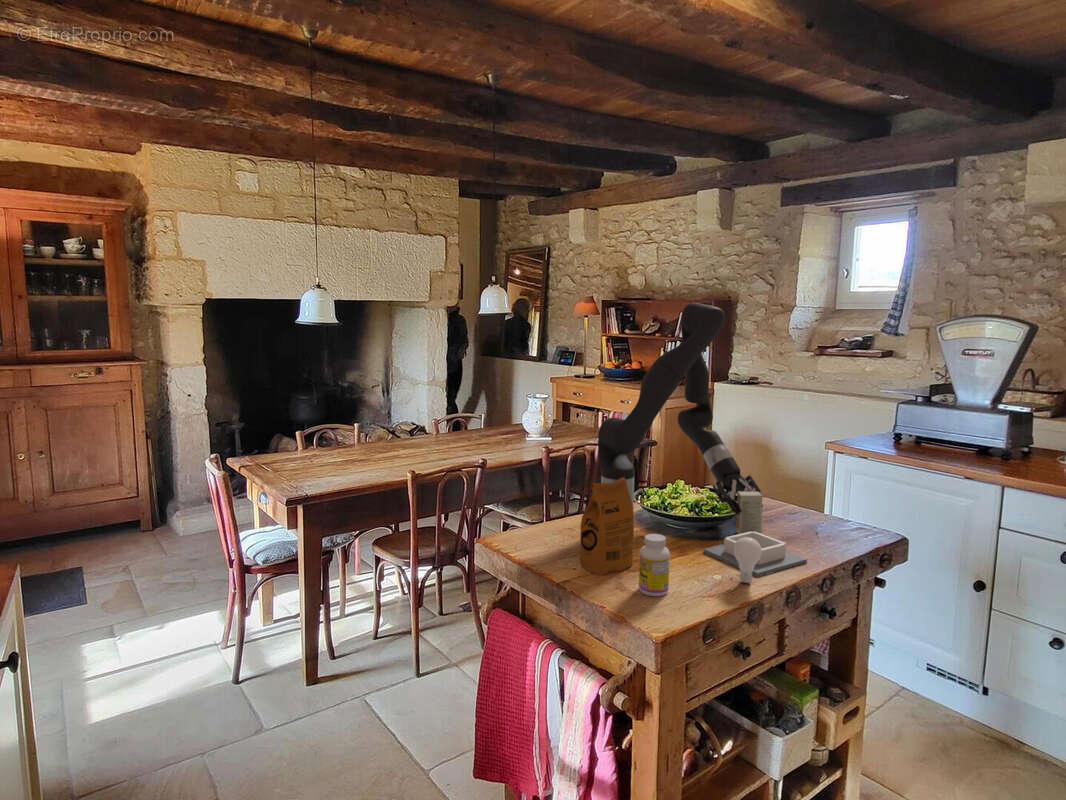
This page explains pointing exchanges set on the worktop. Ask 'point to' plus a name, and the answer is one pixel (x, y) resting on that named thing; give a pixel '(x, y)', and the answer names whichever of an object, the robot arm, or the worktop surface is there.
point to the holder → (770, 559)
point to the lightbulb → (747, 556)
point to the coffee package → (607, 529)
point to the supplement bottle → (654, 566)
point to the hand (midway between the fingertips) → (749, 511)
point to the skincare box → (749, 512)
